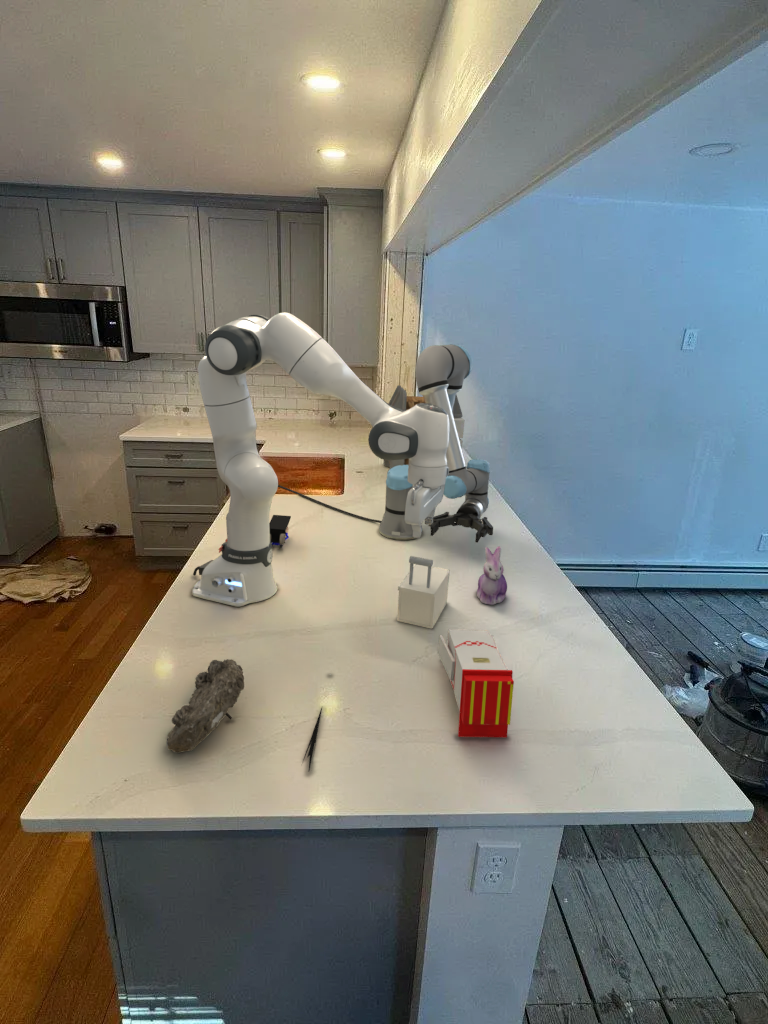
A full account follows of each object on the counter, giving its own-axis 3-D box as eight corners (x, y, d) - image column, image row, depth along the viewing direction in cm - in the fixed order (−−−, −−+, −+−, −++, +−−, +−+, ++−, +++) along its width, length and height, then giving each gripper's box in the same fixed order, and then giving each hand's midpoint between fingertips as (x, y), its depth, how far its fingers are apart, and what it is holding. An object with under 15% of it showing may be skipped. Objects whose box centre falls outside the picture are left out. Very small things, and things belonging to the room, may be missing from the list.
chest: (432, 628, 141) (434, 596, 138) (397, 620, 144) (398, 589, 141) (446, 603, 154) (449, 573, 151) (414, 596, 157) (416, 566, 154)
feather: (331, 679, 122) (336, 673, 122) (307, 777, 96) (313, 769, 95) (324, 675, 122) (329, 669, 121) (298, 772, 95) (304, 764, 95)
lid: (434, 598, 138) (436, 566, 135) (397, 590, 141) (399, 558, 138) (449, 573, 151) (452, 543, 148) (416, 566, 154) (418, 537, 151)
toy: (488, 613, 130) (523, 677, 101) (484, 667, 133) (517, 744, 104) (435, 612, 130) (455, 676, 101) (432, 666, 133) (451, 743, 103)
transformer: (382, 463, 289) (386, 382, 275) (445, 464, 293) (451, 384, 279) (390, 482, 257) (394, 392, 243) (460, 483, 261) (468, 394, 247)
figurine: (489, 609, 152) (495, 558, 146) (466, 592, 160) (471, 543, 155) (516, 602, 156) (523, 552, 151) (493, 586, 164) (499, 538, 159)
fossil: (192, 660, 117) (244, 628, 112) (224, 691, 120) (276, 661, 115) (142, 746, 98) (202, 712, 93) (182, 779, 101) (242, 748, 96)
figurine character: (285, 555, 182) (292, 533, 195) (285, 534, 178) (291, 513, 192) (264, 554, 181) (272, 532, 195) (263, 534, 178) (271, 512, 191)
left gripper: (427, 488, 121) (422, 548, 126) (450, 466, 139) (446, 519, 144) (399, 484, 123) (396, 543, 128) (426, 463, 141) (422, 515, 146)
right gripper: (506, 529, 184) (495, 553, 165) (432, 519, 192) (413, 540, 173) (508, 507, 181) (497, 528, 162) (433, 498, 189) (414, 517, 170)
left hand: (422, 530), depth 136 cm, fingers open, 8 cm apart
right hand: (454, 534), depth 167 cm, fingers open, 13 cm apart
